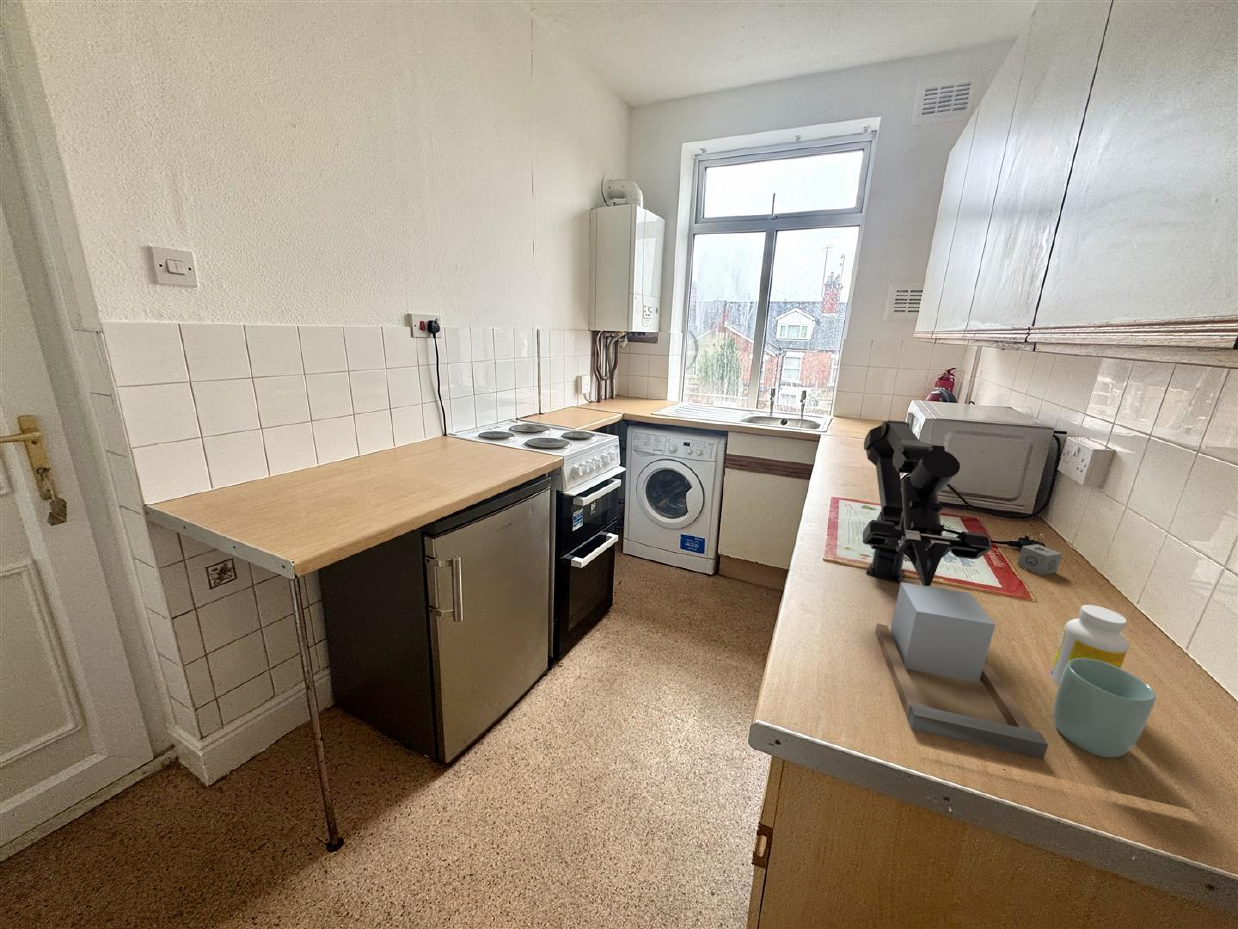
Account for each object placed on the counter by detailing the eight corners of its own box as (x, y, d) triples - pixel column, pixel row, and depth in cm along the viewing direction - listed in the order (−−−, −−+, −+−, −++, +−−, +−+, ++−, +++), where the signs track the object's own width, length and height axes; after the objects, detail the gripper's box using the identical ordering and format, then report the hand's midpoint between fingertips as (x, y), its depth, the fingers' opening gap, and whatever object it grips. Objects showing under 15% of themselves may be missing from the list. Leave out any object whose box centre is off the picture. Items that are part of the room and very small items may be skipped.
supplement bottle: (1121, 709, 67) (1151, 631, 64) (1067, 700, 69) (1094, 623, 65) (1086, 677, 74) (1112, 604, 70) (1038, 670, 75) (1061, 598, 71)
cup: (1146, 765, 58) (1174, 698, 56) (1094, 773, 57) (1121, 704, 54) (1078, 716, 66) (1100, 655, 63) (1031, 722, 64) (1051, 659, 62)
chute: (874, 635, 82) (877, 620, 81) (970, 653, 78) (974, 637, 77) (909, 733, 62) (914, 714, 61) (1041, 764, 58) (1048, 744, 57)
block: (889, 634, 81) (900, 582, 79) (956, 646, 79) (970, 593, 76) (903, 668, 73) (916, 611, 70) (978, 683, 70) (995, 624, 68)
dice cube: (1031, 563, 112) (1037, 544, 110) (1056, 573, 107) (1062, 553, 106) (1016, 566, 110) (1022, 546, 109) (1040, 576, 106) (1046, 556, 104)
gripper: (959, 528, 92) (968, 608, 85) (855, 515, 97) (855, 589, 90) (986, 503, 83) (1000, 590, 76) (869, 490, 88) (871, 571, 80)
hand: (926, 585), depth 81 cm, fingers closed
